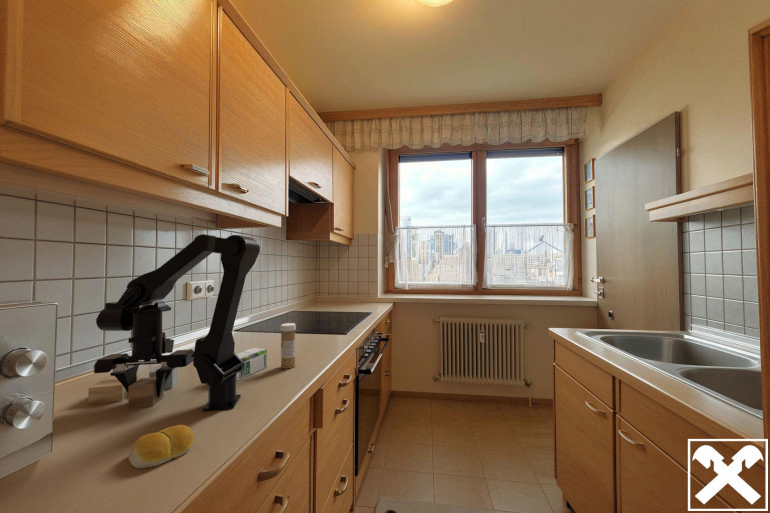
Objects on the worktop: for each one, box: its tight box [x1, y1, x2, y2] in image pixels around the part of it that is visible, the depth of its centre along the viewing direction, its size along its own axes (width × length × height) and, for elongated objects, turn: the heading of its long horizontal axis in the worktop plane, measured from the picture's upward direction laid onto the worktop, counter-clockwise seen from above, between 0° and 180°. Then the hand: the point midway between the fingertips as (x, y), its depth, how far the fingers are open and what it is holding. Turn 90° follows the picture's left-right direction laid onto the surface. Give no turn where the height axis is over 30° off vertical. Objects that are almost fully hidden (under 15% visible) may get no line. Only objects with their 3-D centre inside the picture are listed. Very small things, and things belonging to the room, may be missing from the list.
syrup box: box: [221, 347, 268, 382], centre depth 91 cm, size 6×6×14 cm
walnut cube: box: [127, 377, 165, 409], centre depth 73 cm, size 5×5×5 cm
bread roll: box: [128, 424, 195, 469], centre depth 53 cm, size 8×9×4 cm
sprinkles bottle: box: [280, 322, 296, 369], centre depth 97 cm, size 5×5×13 cm
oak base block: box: [87, 374, 141, 405], centre depth 77 cm, size 7×7×4 cm
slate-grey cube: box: [148, 365, 178, 390], centre depth 82 cm, size 5×5×5 cm
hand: (147, 397), depth 73 cm, fingers closed on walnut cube, 5 cm apart
